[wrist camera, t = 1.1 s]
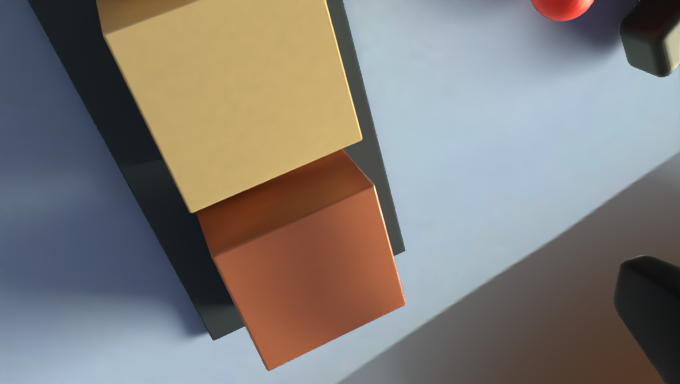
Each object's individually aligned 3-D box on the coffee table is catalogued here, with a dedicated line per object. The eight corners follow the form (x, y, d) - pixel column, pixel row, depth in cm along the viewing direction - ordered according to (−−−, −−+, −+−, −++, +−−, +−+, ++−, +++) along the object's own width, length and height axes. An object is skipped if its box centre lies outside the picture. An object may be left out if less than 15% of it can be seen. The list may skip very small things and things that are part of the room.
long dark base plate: (211, 334, 23) (234, 412, 20) (-243, -503, 11) (-368, -640, 8) (401, 245, 25) (450, 306, 21) (190, -587, 12) (234, -735, 9)
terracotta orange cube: (242, 305, 23) (268, 372, 20) (190, 196, 20) (211, 257, 17) (365, 248, 23) (407, 304, 21) (332, 136, 21) (375, 184, 18)
